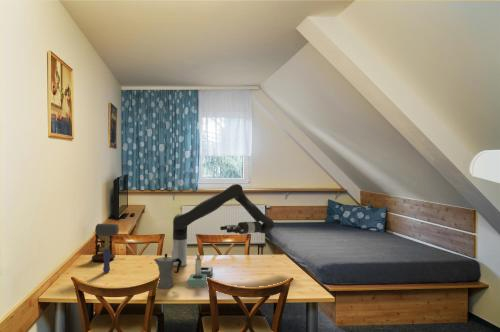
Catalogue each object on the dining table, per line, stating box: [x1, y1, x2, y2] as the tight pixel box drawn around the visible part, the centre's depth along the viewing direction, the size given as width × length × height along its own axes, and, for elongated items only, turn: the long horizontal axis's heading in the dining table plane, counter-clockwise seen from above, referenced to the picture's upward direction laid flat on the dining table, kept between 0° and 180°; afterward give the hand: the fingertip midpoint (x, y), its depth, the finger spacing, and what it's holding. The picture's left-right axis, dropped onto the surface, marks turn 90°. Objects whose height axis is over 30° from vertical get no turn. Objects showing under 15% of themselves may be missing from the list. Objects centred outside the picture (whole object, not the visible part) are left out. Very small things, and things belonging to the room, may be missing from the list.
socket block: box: [201, 265, 214, 277], centre depth 219 cm, size 9×9×4 cm
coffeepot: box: [153, 253, 182, 290], centre depth 200 cm, size 15×9×18 cm, turn 90°
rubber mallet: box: [95, 222, 120, 273], centre depth 221 cm, size 12×8×30 cm, turn 93°
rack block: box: [187, 273, 207, 288], centre depth 204 cm, size 9×9×4 cm
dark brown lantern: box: [91, 233, 116, 262], centre depth 247 cm, size 15×15×20 cm
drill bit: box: [194, 253, 202, 279], centre depth 204 cm, size 3×3×17 cm
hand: (223, 229), depth 223 cm, fingers open, 8 cm apart
